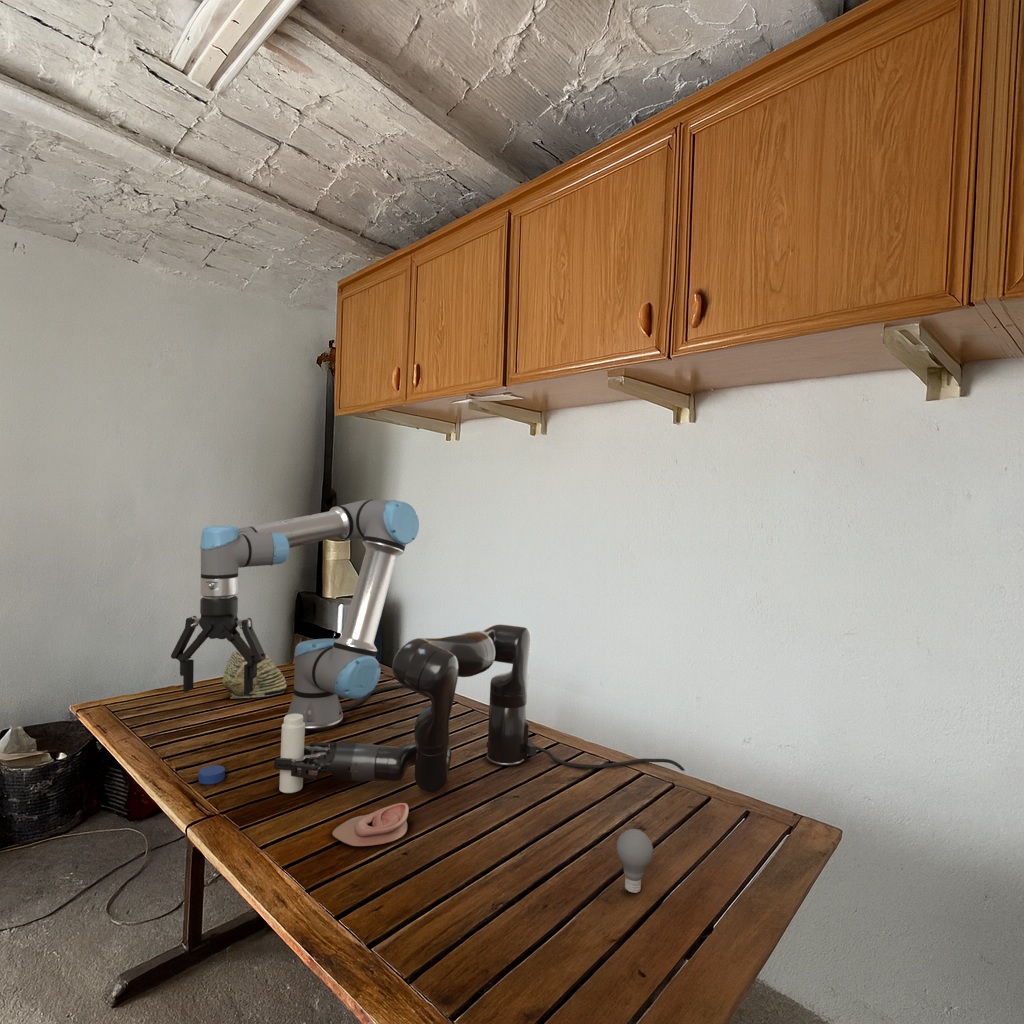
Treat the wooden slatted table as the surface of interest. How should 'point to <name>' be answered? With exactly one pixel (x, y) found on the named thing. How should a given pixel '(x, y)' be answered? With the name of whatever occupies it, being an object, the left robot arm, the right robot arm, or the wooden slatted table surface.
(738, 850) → the wooden slatted table surface
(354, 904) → the wooden slatted table surface
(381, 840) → the anatomical model
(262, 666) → the fossil
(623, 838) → the light bulb
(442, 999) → the wooden slatted table surface
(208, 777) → the lid
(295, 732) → the white bottle
